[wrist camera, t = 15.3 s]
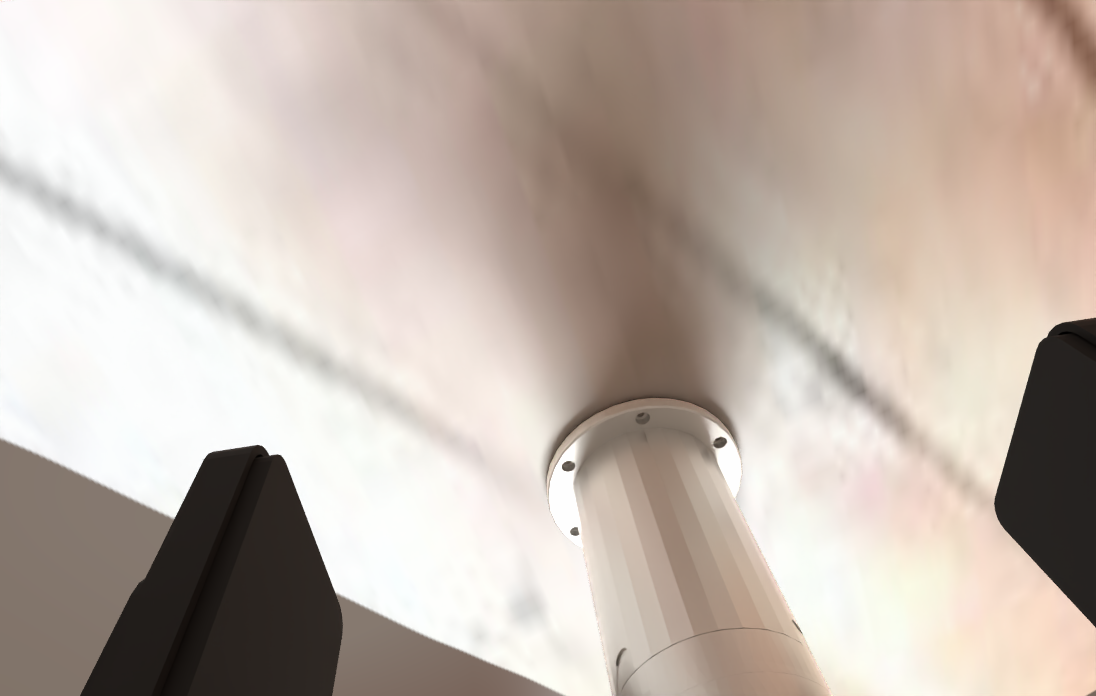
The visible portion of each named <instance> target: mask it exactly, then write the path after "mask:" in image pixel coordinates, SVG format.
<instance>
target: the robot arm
mask: <svg viewBox="0 0 1096 696" xmlns="http://www.w3.org/2000/svg"><path fill="white" fill-rule="evenodd" d="M741 478H742V462H741V456H740V453H739V450H738V447H737V444H736V443H735V441H734V439H733V437H732V436H731V434H730V432H729V430H728V429H727V428H726V427H725V426H724V424H723V423H722V422H721V421H720V420H719V419H718V418H717V417H715V416H714V415H713V414H711V413H710V412H708V411H707V410H705V409H703V408H701V407H699V406H696V405H694V404H692V403H689V402H685V401H680V400H676V399H667V398H647V399H638V400H632V401H628V402H625V403H621V404H618V405H614V406H612V407H610V408H608V409H605V410H603V411H601V412H599V413H596V414H595V415H593V416H592V417H590V418H589V419H587V420H586V421H584V422H583V423H581V424H580V425H579V426H578V427H577V428H576V429H575V430H573V431H572V432H571V433H570V434H569V435H568V436H567V437H566V439H565V440H564V441H563V443H562V444H561V445H560V447H559V448H558V449H557V451H556V453H555V455H554V457H553V459H552V461H551V463H550V466H549V471H548V475H547V498H548V503H549V509H550V512H551V514H552V517H553V519H554V521H555V523H556V525H557V526H558V527H559V529H560V530H561V531H562V533H563V534H564V535H565V536H566V537H568V538H569V539H570V540H571V541H572V542H574V543H575V544H577V545H578V546H580V547H582V550H583V554H584V559H585V564H586V569H587V574H588V579H589V584H590V589H591V594H592V599H593V604H594V609H595V614H596V619H597V624H598V628H599V633H600V638H601V643H602V648H603V653H604V658H605V663H606V668H607V673H608V678H609V683H610V688H611V693H612V696H833V695H832V693H831V691H830V689H829V687H828V685H827V683H826V681H825V679H824V677H823V675H822V673H821V671H820V669H819V667H818V665H817V663H816V661H815V659H814V657H813V655H812V653H811V651H810V649H809V647H808V645H807V643H806V640H805V638H804V636H803V634H802V632H801V630H800V628H799V626H798V624H797V622H796V620H795V618H794V616H793V614H792V612H791V610H790V608H789V606H788V604H787V602H786V600H785V598H784V596H783V594H782V592H781V590H780V588H779V586H778V584H777V582H776V580H775V578H774V576H773V574H772V572H771V570H770V568H769V566H768V564H767V562H766V560H765V558H764V556H763V554H762V552H761V550H760V548H759V546H758V544H757V542H756V540H755V538H754V536H753V534H752V532H751V530H750V528H749V526H748V524H747V522H746V520H745V518H744V516H743V514H742V512H741V510H740V508H739V506H738V504H737V502H736V500H735V498H736V496H737V493H738V490H739V488H740V484H741ZM994 505H995V512H996V515H997V518H998V520H999V522H1000V524H1001V525H1002V526H1003V528H1004V529H1005V530H1006V531H1007V532H1008V533H1009V535H1010V536H1011V537H1012V538H1013V539H1014V540H1015V541H1016V542H1017V543H1018V544H1019V545H1020V546H1021V547H1022V549H1023V550H1024V551H1025V552H1026V553H1027V554H1028V555H1029V556H1030V557H1031V558H1032V559H1033V560H1034V561H1035V563H1036V564H1037V565H1038V566H1039V567H1040V568H1041V569H1042V570H1043V571H1044V572H1045V573H1046V574H1047V575H1048V577H1049V578H1050V579H1051V580H1052V581H1053V582H1054V583H1055V584H1056V585H1057V586H1058V587H1059V588H1060V589H1061V591H1062V592H1063V593H1064V594H1065V595H1066V596H1067V597H1068V598H1069V599H1070V600H1071V601H1072V602H1073V603H1074V605H1075V606H1076V607H1077V608H1078V609H1079V610H1080V611H1081V612H1082V613H1083V614H1084V615H1085V616H1086V617H1087V619H1088V620H1089V621H1090V622H1091V623H1092V624H1093V625H1094V626H1095V627H1096V318H1091V319H1084V320H1078V321H1071V322H1064V323H1061V324H1059V325H1056V326H1055V327H1054V328H1053V329H1052V330H1051V331H1050V332H1049V334H1048V336H1047V338H1044V339H1043V340H1042V341H1041V342H1040V343H1039V345H1038V347H1037V350H1036V353H1035V357H1034V360H1033V364H1032V367H1031V371H1030V375H1029V378H1028V382H1027V385H1026V389H1025V393H1024V396H1023V400H1022V403H1021V407H1020V410H1019V414H1018V418H1017V421H1016V425H1015V428H1014V432H1013V435H1012V439H1011V443H1010V446H1009V450H1008V453H1007V457H1006V460H1005V464H1004V468H1003V471H1002V475H1001V478H1000V482H999V486H998V489H997V493H996V496H995V502H994ZM342 624H343V623H342V613H341V609H340V605H339V602H338V599H337V597H336V594H335V591H334V589H333V586H332V583H331V581H330V578H329V575H328V573H327V570H326V568H325V565H324V562H323V560H322V557H321V554H320V552H319V549H318V546H317V544H316V541H315V538H314V536H313V533H312V531H311V528H310V525H309V523H308V520H307V517H306V515H305V512H304V509H303V507H302V504H301V502H300V499H299V496H298V494H297V491H296V488H295V486H294V483H293V480H292V478H291V475H290V473H289V470H288V467H287V465H286V463H285V460H284V459H283V457H282V456H281V455H278V454H277V455H271V456H269V454H268V452H267V451H266V450H265V448H264V447H263V446H260V445H255V446H249V447H242V448H235V449H229V450H222V451H216V452H212V453H209V454H208V455H207V456H206V458H205V459H204V461H203V463H202V465H201V467H200V469H199V471H198V473H197V475H196V477H195V479H194V481H193V483H192V485H191V487H190V489H189V491H188V493H187V495H186V497H185V499H184V501H183V503H182V505H181V507H180V509H179V511H178V513H177V515H176V517H175V519H174V521H173V523H172V525H171V527H170V529H169V532H168V534H167V536H166V538H165V540H164V542H163V544H162V546H161V548H160V550H159V552H158V554H157V556H156V558H155V560H154V562H153V564H152V566H151V568H150V570H149V572H148V574H147V576H146V578H145V579H144V580H143V581H141V582H140V583H139V584H138V585H137V587H136V588H135V590H134V591H133V593H132V594H131V596H130V598H129V600H128V602H127V604H126V606H125V608H124V610H123V612H122V614H121V616H120V618H119V620H118V622H117V624H116V625H115V627H114V630H113V631H112V633H111V635H110V637H109V639H108V641H107V644H106V645H105V647H104V649H103V651H102V653H101V655H100V657H99V659H98V661H97V663H96V665H95V667H94V669H93V671H92V673H91V675H90V677H89V679H88V681H87V683H86V685H85V687H84V689H83V691H82V693H81V695H80V696H332V693H333V687H334V681H335V675H336V669H337V663H338V657H339V651H340V645H341V639H342V628H343V625H342Z"/></svg>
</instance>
